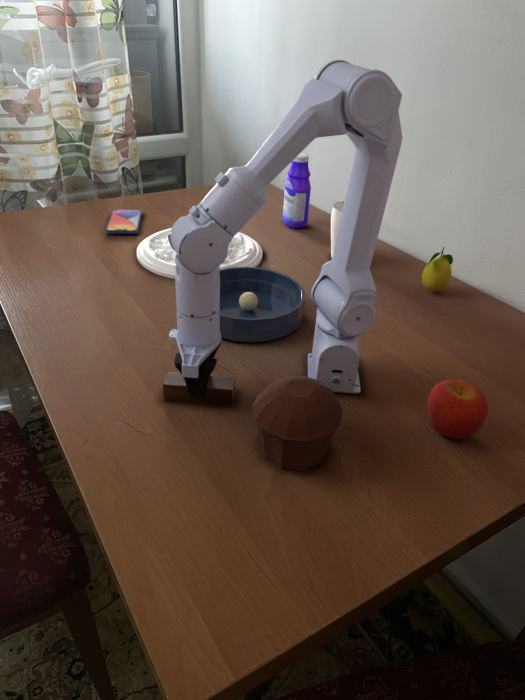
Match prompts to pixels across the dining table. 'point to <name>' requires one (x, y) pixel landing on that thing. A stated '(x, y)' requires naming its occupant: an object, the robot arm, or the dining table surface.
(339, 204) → the cup
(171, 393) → the block
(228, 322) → the bowl
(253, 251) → the ceiling medallion
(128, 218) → the smartphone
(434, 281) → the pear
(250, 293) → the dough ball
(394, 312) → the dining table surface
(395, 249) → the dining table surface
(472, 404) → the apple
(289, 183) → the bottle
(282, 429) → the muffin
